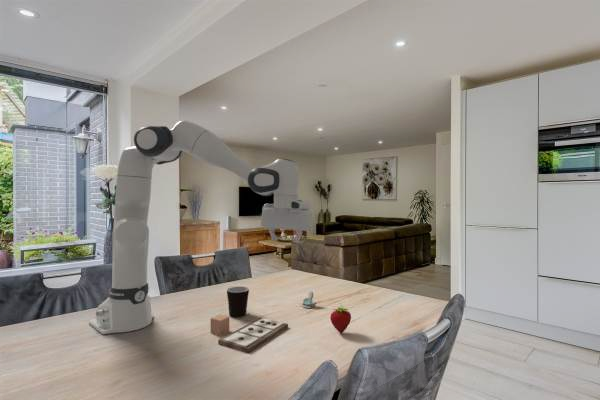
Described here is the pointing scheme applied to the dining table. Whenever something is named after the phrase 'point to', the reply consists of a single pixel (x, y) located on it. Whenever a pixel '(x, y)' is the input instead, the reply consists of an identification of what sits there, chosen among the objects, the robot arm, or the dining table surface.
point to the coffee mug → (237, 301)
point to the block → (219, 324)
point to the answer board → (253, 334)
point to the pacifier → (308, 301)
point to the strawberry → (340, 319)
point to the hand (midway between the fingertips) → (285, 241)
